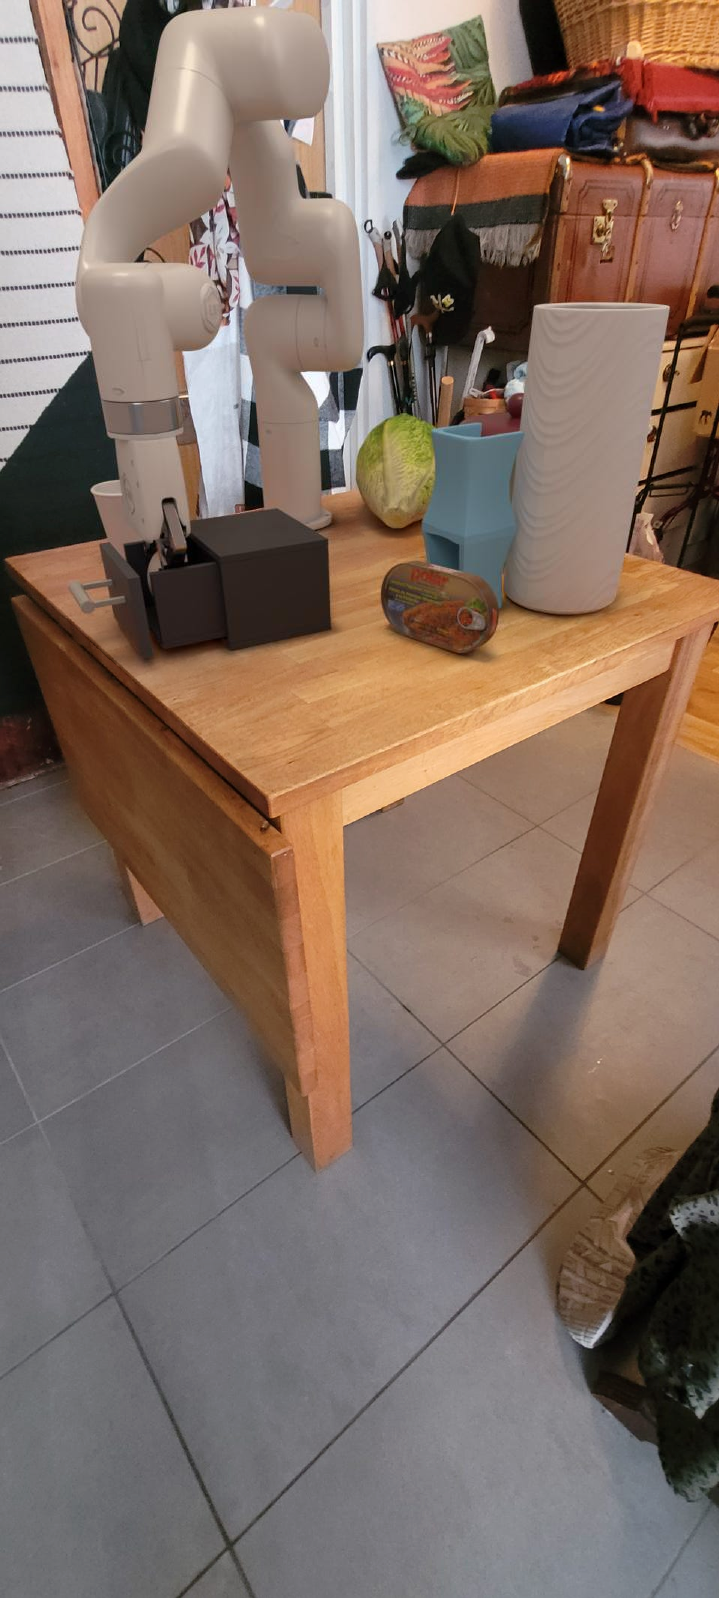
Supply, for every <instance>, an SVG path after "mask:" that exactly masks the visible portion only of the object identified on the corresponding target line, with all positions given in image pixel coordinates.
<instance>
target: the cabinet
mask: <svg viewBox="0 0 719 1598" xmlns="http://www.w3.org/2000/svg"><path fill="white" fill-rule="evenodd" d="M190 527H191V532H190V534H189V536H188V537H190V538H191V539H192V540H193V541H194V542H196V543H197V544H198V545H199V546H200V547H201V548H203V549H204V550H205V551H206V552H207V553H208V554H210V555H211V556H212V557H213V558H214V559H215V560H217V561H218V565H219V573H220V582H221V590H222V599H223V608H224V616H225V625H226V633H227V636H226V637H221V638H218V639H219V640H220V641H221V643H223V644H224V645H225V647H226V648H227V649H229V651H235V650H240V649H244V648H250V647H255V646H259V645H262V644H263V645H264V644H267V643H272V642H278V641H282V640H286V639H291V638H297V637H300V636H307V635H310V634H315V633H319V632H324V631H328V630H332V617H331V616H332V615H331V588H330V587H331V585H330V583H331V582H330V556H329V554H330V553H329V538H328V537H326V536H324V535H323V534H321V533H319V532H318V531H316V530H313V529H311V528H309V527H308V526H306V525H304V524H303V523H301V522H299V521H298V520H296V519H294V518H293V517H291V516H289V515H288V514H286V513H284V512H283V511H281V510H279V509H278V508H275V509H268V510H264V509H263V510H254V511H248V512H241V513H234V514H226V515H221V516H213V517H207V518H205V517H204V518H199V519H192V520H191V519H190Z"/></svg>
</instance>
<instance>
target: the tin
mask: <svg viewBox="0 0 719 1598" xmlns="http://www.w3.org/2000/svg"><path fill="white" fill-rule="evenodd" d="M380 602H381V607H382V610H383V611H382V612H383V614H384V616H385V618H386V620H387V622H388V623H389V624H390V626H391V627H392V628H393V630H395V631H396V632H397V633H398V634H399V635H402V636H404V637H406V638H408V639H409V638H410V639H413V640H416V641H420V642H422V643H425V644H428V645H431V646H433V647H437V648H440V649H442V650H445V651H449V652H452V653H455V654H467V653H471V652H473V651H475V650H476V649H477V648H480V647H482V646H483V645H485V644H487V643H488V642H489V641H490V640H491V639H492V638H493V636H494V635H495V634H496V633H495V632H496V630H497V629H498V625H499V618H500V617H499V616H500V615H499V614H500V612H499V609H500V608H499V606H498V601H497V598H496V596H495V593H494V592H493V590H492V588H491V587H490V586H489V585H488V583H487V582H486V581H484V580H483V579H482V578H480V577H478V576H476V575H473V574H470V573H466V572H462V571H458V570H454V569H450V568H446V567H442V566H438V565H434V564H430V563H427V561H423V560H422V561H421V560H412V561H408V562H400V563H398V564H395V565H394V566H392V567H390V569H389V570H388V571H387V572H386V574H385V575H384V578H383V580H382V583H381V587H380Z"/></svg>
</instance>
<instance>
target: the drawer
mask: <svg viewBox="0 0 719 1598" xmlns="http://www.w3.org/2000/svg"><path fill="white" fill-rule="evenodd" d="M185 541H186V544H187V549H186V552H187V559H188V565H189V566H185V567H179V568H173V569H167V570H161V571H155V572H149V575H150V581H151V587H152V593H153V595H152V594H151V592H150V589H149V586H148V579H147V572H148V571H147V566H146V560H145V554H146V552H145V550H144V546H143V541H138V542H131V543H124V544H123V547H124V552H125V557H126V561H125V559H124V558H123V557H122V556H121V555H120V554H119V552H118V551H117V550H116V549H115V548H114V547H113V546H112V544H111V543H110V542H109V541H105V542H100V543H99V549H100V555H101V561H102V564H103V565H102V566H103V569H104V576H105V579H103V580H101V579H100V580H98V581H97V580H96V581H95V580H94V581H90V582H84V583H81V582H80V581H78V580H72V581H70V582H69V583H68V586H67V587H68V590H69V592H70V594H71V595H72V597H73V599H74V600H75V602H76V603H77V605H78V607H79V608H80V610H81V612H83V613H84V614H86V615H88V614H92V613H93V612H95V609H98V608H103V607H109V606H111V609H112V614H113V618H114V619H115V621H116V622H117V623H118V625H119V626H120V628H121V629H122V631H123V632H124V633H125V635H126V637H127V638H128V639H129V641H130V643H131V644H132V645H133V647H134V648H135V649H136V651H137V652H138V654H139V655H140V657H141V659H143V660H145V659H149V658H154V656H155V655H154V650H153V644H152V638H151V635H152V636H153V637H154V639H155V640H156V641H157V643H158V644H159V646H160V647H161V648H162V649H163V650H167V649H172V648H177V647H182V646H187V645H191V644H197V643H200V642H206V641H210V640H215V639H219V638H221V637H226V636H227V633H226V625H225V616H224V608H223V599H222V590H221V582H220V573H219V565H218V561H217V560H215V559H214V558H213V557H212V556H211V555H210V554H208V553H207V552H206V551H205V550H204V549H203V548H201V547H200V546H199V545H198V544H197V543H196V542H194V541H193V540H192V539H191V538H190V537H187V538H185ZM170 548H171V547H170ZM147 553H150V552H147ZM106 587H107V589H108V595H109V598H108V597H107V598H103V599H98V600H92V599H91V598H90V595H89V594H88V592H87V591H88V590H95V589H100V588H106Z"/></svg>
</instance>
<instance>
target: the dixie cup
mask: <svg viewBox="0 0 719 1598" xmlns="http://www.w3.org/2000/svg"><path fill="white" fill-rule="evenodd" d="M90 493H91V494H92V495H93V497H94V501H95V504H96V506H97V511H98V513H99V517H100V520H101V522H102V525H103V529H104V532H105V534H106V538H107V542H110V543H111V544H112V546H113V547H114V548H115V549H116V550H117V551H118V552H119V554H120V555H121V556H122V557H123V558H124V559H125V561H126V557H125V552H124V547H123V544H124V543H131V542H138V541H143V539H142V538H141V537H139V536H138V535H137V534H136V533H135V532H134V530H133V529H132V528H131V527H130V526H129V525H128V523H127V521H126V518H125V513H124V506H123V499H122V492H121V485H120V479H115V480H107V481H103V482H100V483H97V484H94V485H93V486H92V487H91V488H90Z"/></svg>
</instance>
